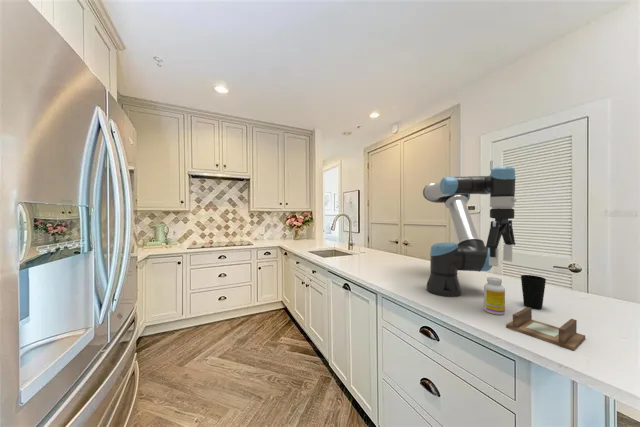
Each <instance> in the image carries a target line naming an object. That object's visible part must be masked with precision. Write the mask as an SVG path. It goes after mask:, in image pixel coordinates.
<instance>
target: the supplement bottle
mask: <svg viewBox="0 0 640 427" xmlns="http://www.w3.org/2000/svg"><path fill="white" fill-rule="evenodd" d="M486 282H487V283H484V286H483V310H484V311H485V312H487V313H489V314H492V315H497V316H500V315H501V316H502V315H504V314H505V313H506V288H505V287H504V286H503V285H502V283H503V280H502V278H499V277H494V276H493V277H492V276H488V277H486Z"/></svg>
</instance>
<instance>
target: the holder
mask: <svg viewBox="0 0 640 427" xmlns="http://www.w3.org/2000/svg"><path fill="white" fill-rule="evenodd" d="M532 310H533V309H532V308H530V307H526V306H525V308H522V309H521V310H519V311H517V312H515V313H513V314H512V320H511V321H509V322H508V323H506V324H505V328H507V329H508V330H513V331H515V332H518V333H521V334H525V335H527V336H530V337H533V338H536V339H537V340H542V341H544V342H547V343H551V344H553V345H555V344H556V346H558V345H559V347H561V346H562V348H564V347H565V349H567V348H568V349H567V350H570V351H574V352H575V350H576V349H577V348H578V347H579V346H580V345H581V344H582V343H583V342H584V341H585V340H586V335H585V334H583V333H582V334H581V333H578V332H577V319H575V318H569V320H568V321H566V322H565V323H563V325H561V326H559V327H558V326H556V325H555V326H554V325H551V324H548V323H545V322H543V321H538V320H536V319H532V317H533V316H532V314H533V312H532Z"/></svg>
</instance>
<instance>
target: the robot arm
mask: <svg viewBox="0 0 640 427" xmlns="http://www.w3.org/2000/svg"><path fill="white" fill-rule="evenodd" d="M516 178H517V177H516V169H515V167H513V166H501V167H500V166H499V167H493V168H492V169H490V174H489V175H476V176H475V175H473V176H445V177H442V178H441V180H440V181H439V182H435V183H434V182H433V183H432V182H431V183H428V184H427V185H425V186H424V188H423V189H422V195H423V197H424V199H425V200H426V201H429V202H431V203H436V204H439V203H441V204H444V206H445V208H447V209H449V212H450V216H451V218H452V222H453V226H454V230H455V232H456V233H455V234H456V236H457V239H458V243H457V242H438V243H434V244H432V245H431V247H430V251H429V252H430V253H429V256H430V262H429V263H430V274H429V277H428V279H427V283H426V286H425V287H426V288H425V289H426V291H427V292H429V293H430V294H433V295H437V296H442V297H452V298H453V297H459V296H461V295H462V287H461V284H460V281H459V278H458V271H461V272H462V271H464V272H465V271H466V272H488V271H491V269H492V268H493V267H499V254H500V253H499V250H500V249H499V248H498V247H499V244H500V241H501V238H503V242H504V244H503V252H502V253H503V255H502V256H503V257H502V258H503V260H502V261H505V262H513V246H515V245H516V241H515V240H516V239H515V235H514V229H513V220H512V219H515V209H514V207H515V202H517V199H516V198H515V197H516V196H515V195H516V194H515V193H516V192H515V191H516ZM471 195H489V207H490V210H489V218H490V219H494V220H491V221H490V226H489V227H490V228H489V232H488V236H487V240H486V245H485V242H484V240H482V239H481V238H479V236H478V233H477V230H476V227H475V225H474V222H473V219H472V216H471V214H470V211H469V208H468V206H467V205H468V202H469V201H470V199H471Z"/></svg>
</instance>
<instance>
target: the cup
mask: <svg viewBox="0 0 640 427" xmlns="http://www.w3.org/2000/svg"><path fill="white" fill-rule="evenodd" d="M520 280H521V290H522V291H521V292H522V299H523V301H522V302H523V306H524V307H525V308H526V307H530V308H532V310H543V303H544V297H545V288H546V281H547V279H546V278H545V277H543V276H538V275H531V274H523V275H522V274H521V275H520Z"/></svg>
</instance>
